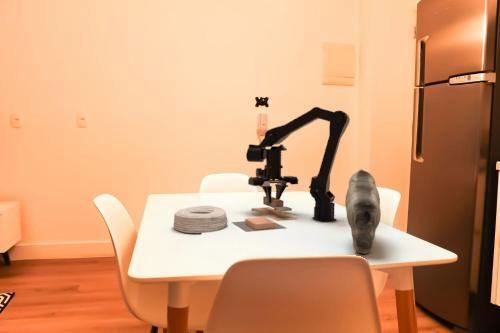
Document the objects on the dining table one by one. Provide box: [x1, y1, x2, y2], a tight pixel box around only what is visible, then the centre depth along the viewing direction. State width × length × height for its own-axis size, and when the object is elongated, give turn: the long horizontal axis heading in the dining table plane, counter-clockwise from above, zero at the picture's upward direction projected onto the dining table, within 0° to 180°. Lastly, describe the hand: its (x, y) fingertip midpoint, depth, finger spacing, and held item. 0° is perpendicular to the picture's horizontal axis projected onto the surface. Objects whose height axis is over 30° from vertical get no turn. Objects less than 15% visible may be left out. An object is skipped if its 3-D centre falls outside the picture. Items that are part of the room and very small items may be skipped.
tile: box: [244, 216, 277, 230], centre depth 118 cm, size 7×2×9 cm
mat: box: [231, 220, 287, 233], centre depth 119 cm, size 14×14×1 cm
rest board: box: [251, 206, 298, 222], centre depth 139 cm, size 8×24×1 cm, turn 22°
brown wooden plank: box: [262, 195, 293, 212], centre depth 137 cm, size 16×5×3 cm, turn 22°
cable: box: [173, 205, 229, 234], centre depth 117 cm, size 18×18×6 cm
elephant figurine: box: [344, 168, 381, 255], centre depth 100 cm, size 25×9×20 cm, turn 165°
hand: (273, 203), depth 138 cm, fingers closed on brown wooden plank, 3 cm apart
